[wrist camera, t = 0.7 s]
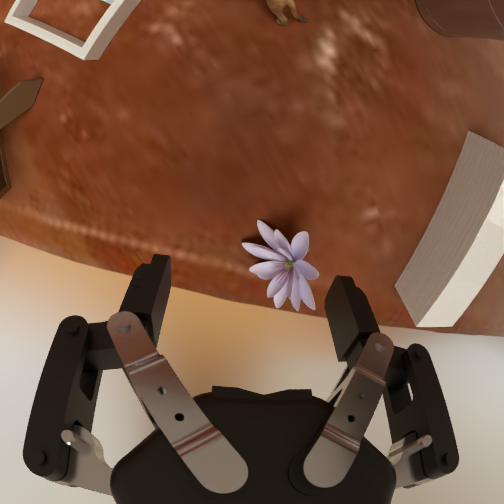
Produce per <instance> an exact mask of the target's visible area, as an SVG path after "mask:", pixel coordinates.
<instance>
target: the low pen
mask: <svg viewBox="0 0 504 504" xmlns="http://www.w3.org/2000/svg"><path fill="white" fill-rule="evenodd" d="M37 1H38V0H16V1H15V3H14V5H13V6H12V8H11V10H10V12H9V14H8V16H7V18H6V19H5V21H4V22H5V23H8V24H10V25H13V26H15V27H17V28H20V29H22V30H24V31H26V32H29V33H31V34H33V35H35V36H37V37H39V38H41V39H43V40H46V41H48V42H50V43H52V44H54V45H56V46H58V47H60V48H62V49H64V50H66V51H67V52H69V53H71V54H73V55H75V56H77V57H79V58H81V59H83V60H99V59H100V57H101V55H102V54H103V52H104V51H105V49H106V48H107V46H108V44H109V43H110V41H111V40H112V39H113V37H114V36H115V34H116V33H117V31H118V30H119V29H120V27H121V26H122V24H123V23H124V22H125V20H126V19H127V18H128V16H129V15H130V14H131V13H132V11H133V10H134V9H135V8H136V6H137V5H138V4H139V3H140V1H141V0H102V1H105V2H107V3H109V4H111V6H110V7H109V8H108V10H107V11H106V12H105V14H104V15H103V16H102V18H101V19H100V21H99V22H98V24H97V25H96V27H95V28H94V30H93V31H92V33H91V34H90V36H89V37H88V39H87V40H86V42H83V41H81V40H79V39H77V38H75V37H73V36H71V35H69V34H67V33H65V32H63V31H61V30H59V29H56V28H54V27H52V26H50V25H47V24H45V23H43V22H40V21H38V20H36V19H33V18H31V17H29V15H30V13H31V11H32V10H33V8H34V6H35V5H36V3H37Z"/></svg>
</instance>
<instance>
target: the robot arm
mask: <svg viewBox="0 0 504 504" xmlns="http://www.w3.org/2000/svg"><path fill="white" fill-rule="evenodd" d="M416 4H417V7H418V10H419V12H420V14H421V15H422V17H423V18H424V20H425V21H426V22H427V24H428V25H429V26H430V27H431V28H432V29H434V30H435V31H436V32H438V33H439V34H442V35H444V36H449V37H473V38H486V39H496V40H504V0H416ZM170 288H171V257H170V256H168V255H160V254H154V256H153V258H152V261H151V264H144V263H143V264H141V265H140V266H139V267H138V268H137V269H136V270H135V272H134V275H133V277H132V280H131V282H130V285H129V287H128V289H127V292H126V294H125V297H124V299H123V302H122V305H121V307H120V310H119V312H118V313H116V314H114V315H112V316H111V317H110V319H109V320H108V321H106V322H100V323H89V324H88V323H87V321H86V320H85V319H84V318H83V317H81V316H77V315H74V316H69V317H67V318H65V319H64V320H63V321H62V322H61V323H60V325H59V327H58V330H57V332H56V335H55V337H54V340H53V342H52V345H51V348H50V351H49V353H48V356H47V359H46V362H45V365H44V368H43V371H42V374H41V378H40V381H39V384H38V388H37V391H36V395H35V398H34V402H33V406H32V410H31V414H30V418H29V422H28V427H27V432H26V437H25V442H24V448H23V458H24V462H25V464H26V465H27V467H28V468H29V469H30V471H32V472H33V473H34V474H36V475H38V476H41V477H44V478H45V479H47V480H49V481H52V482H55V483H58V484H61V485H67V486H70V487H82V488H85V489H88V490H92V491H96V492H100V493H103V494H107V495H112V496H113V498H114V499H115V501H116V503H117V504H390V503H391V499H392V496H393V493H394V490H395V489H397V488H400V487H403V488H412V487H415V486H418V485H421V484H423V483H426V482H429V481H431V480H434V479H437V478H439V477H442V476H444V475H446V474H449V473H451V472H453V471H454V470H455V469H456V467H457V465H458V463H459V454H458V449H457V445H456V440H455V436H454V432H453V428H452V424H451V420H450V417H449V413H448V410H447V406H446V402H445V399H444V396H443V393H442V389H441V386H440V383H439V380H438V377H437V374H436V371H435V368H434V366H433V363H432V360H431V357H430V355H429V353H428V351H427V350H426V348H425V347H423V346H422V345H420V344H416V343H415V344H412V345H410V346H409V348H408V349H404V348H400V347H396V346H394V345H393V342H392V341H391V339H390V338H389V337H388V336H386V335H385V334H382V333H380V330H379V327H378V325H377V322H376V319H375V317H374V314H373V312H372V311H371V307H370V304H369V302H368V300H367V297H366V295H365V294H364V293H363V291H362V290H361V289H360V288H359V287H356V286H355V283H354V281H353V278H352V277H349V276H339V275H337V276H336V277H335V279H334V281H333V283H332V285H331V287H330V289H329V292H328V294H327V296H326V299H325V311H326V315H327V318H328V322H329V326H330V330H331V334H332V337H333V342H334V346H335V350H336V354H337V358H338V361H339V362H341V361H347V366H346V368H345V369H344V371H343V373H342V375H341V377H340V378H339V380H338V382H337V384H336V386H335V387H334V389H333V391H332V392H331V394H330V396H329V397H328V399H327V400H326V401H324V400H322V399H320V398H317V397H315V396H312V392H311V389H300V390H296V389H295V390H291V389H289V390H284V391H280V392H276V393H271V394H266V395H262V394H258V393H254V392H251V391H247V390H243V389H240V388H234V387H221V386H212V392H208V393H204V394H200V395H197V396H195V397H193V398H192V397H191V396H190V394H189V393H188V391H187V390H186V388H185V387H184V386H183V384H182V383H181V381H180V379H179V378H178V377H177V375H176V373H175V372H174V370H173V369H172V367H171V366H170V364H169V363H168V361H167V360H166V358H165V357H164V356H163V355H160V354H159V353H158V352H157V350H156V347H157V343H158V339H159V334H160V330H161V326H162V321H163V317H164V313H165V309H166V305H167V301H168V297H169V294H170ZM119 368H122V369H123V371H124V373H125V375H126V377H127V378H128V380H129V383H130V384H131V386H132V388H133V390H134V392H135V393H136V396H137V397H138V399H139V401H140V403H141V405H142V407H143V409H144V410H145V412H146V414H147V416H148V417H149V419H150V421H151V422H152V424H153V426H154V427H155V430H154V431H153V432H152V433H151V434H150V435H149V436H148V437H146V438H145V439H144V440H143V441H142V442H141V443H140V444H138V445H137V446H136V447H135V448H134V449H133V450H131V451H130V452H129V453H128V454H127V455H126V456H124V457H123V458H122V459H121V460H120V461H119V462H118V463H117V464H116V465H115V467H114V468H110V467H109V466H108V465H107V464H106V462H105V460H104V456H103V447H102V445H101V443H100V442H99V440H98V439H97V438H96V437H94V436H93V435H92V434H91V430H92V423H93V418H94V412H95V406H96V401H97V396H98V390H99V386H100V381H101V377H102V372H103V370H108V369H119ZM408 383H410V386H411V390H412V394H413V400H411V396H410V392H409V389H408V385H407V384H408ZM382 393H383V398H384V402H385V407H386V411H387V417H388V422H389V428H390V433H391V438H392V446H391V448H390V450H389V455H388V456H387V458H386V457H385V456H384V455H383V454H382V453H381V452H380V451H379V450H378V449H377V448H376V447H374V446H373V445H372V444H371V443H370V442H369V441H368V440H367V439H366V438H365V437H364V434H365V432H366V429H367V427H368V425H369V423H370V421H371V419H372V416H373V414H374V411H375V409H376V407H377V405H378V403H379V400H380V398H381V395H382Z"/></svg>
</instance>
